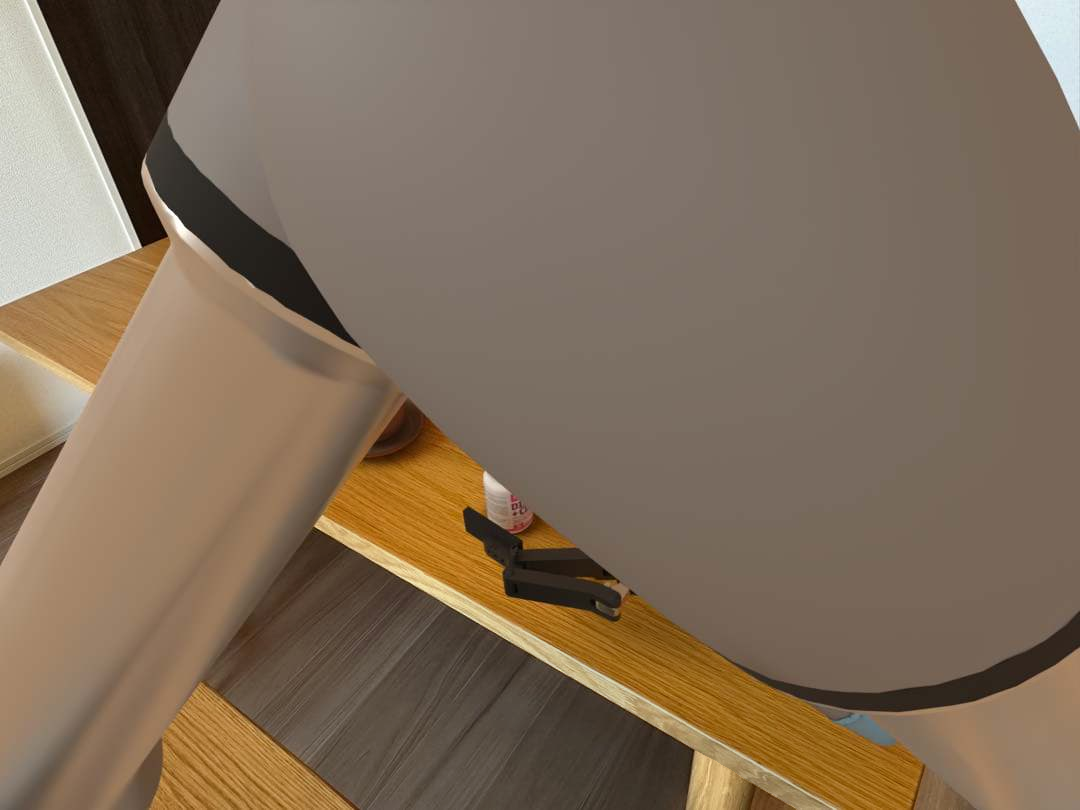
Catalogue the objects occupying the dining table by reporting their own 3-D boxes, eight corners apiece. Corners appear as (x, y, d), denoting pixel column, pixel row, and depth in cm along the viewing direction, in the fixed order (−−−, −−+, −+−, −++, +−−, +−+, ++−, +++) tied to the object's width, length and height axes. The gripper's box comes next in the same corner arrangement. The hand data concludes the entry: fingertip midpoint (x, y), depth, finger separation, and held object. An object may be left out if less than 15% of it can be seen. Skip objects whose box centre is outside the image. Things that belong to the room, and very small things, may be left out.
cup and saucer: (308, 439, 84) (294, 399, 80) (384, 391, 91) (375, 352, 87) (371, 481, 77) (359, 440, 74) (448, 426, 84) (441, 385, 81)
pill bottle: (521, 541, 70) (515, 480, 64) (480, 527, 71) (470, 467, 66) (541, 508, 73) (537, 449, 68) (501, 496, 75) (494, 437, 69)
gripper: (623, 733, 50) (427, 585, 62) (777, 528, 65) (595, 438, 76) (625, 677, 46) (413, 528, 57) (790, 469, 60) (595, 383, 72)
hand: (516, 476), depth 67 cm, fingers open, 13 cm apart
